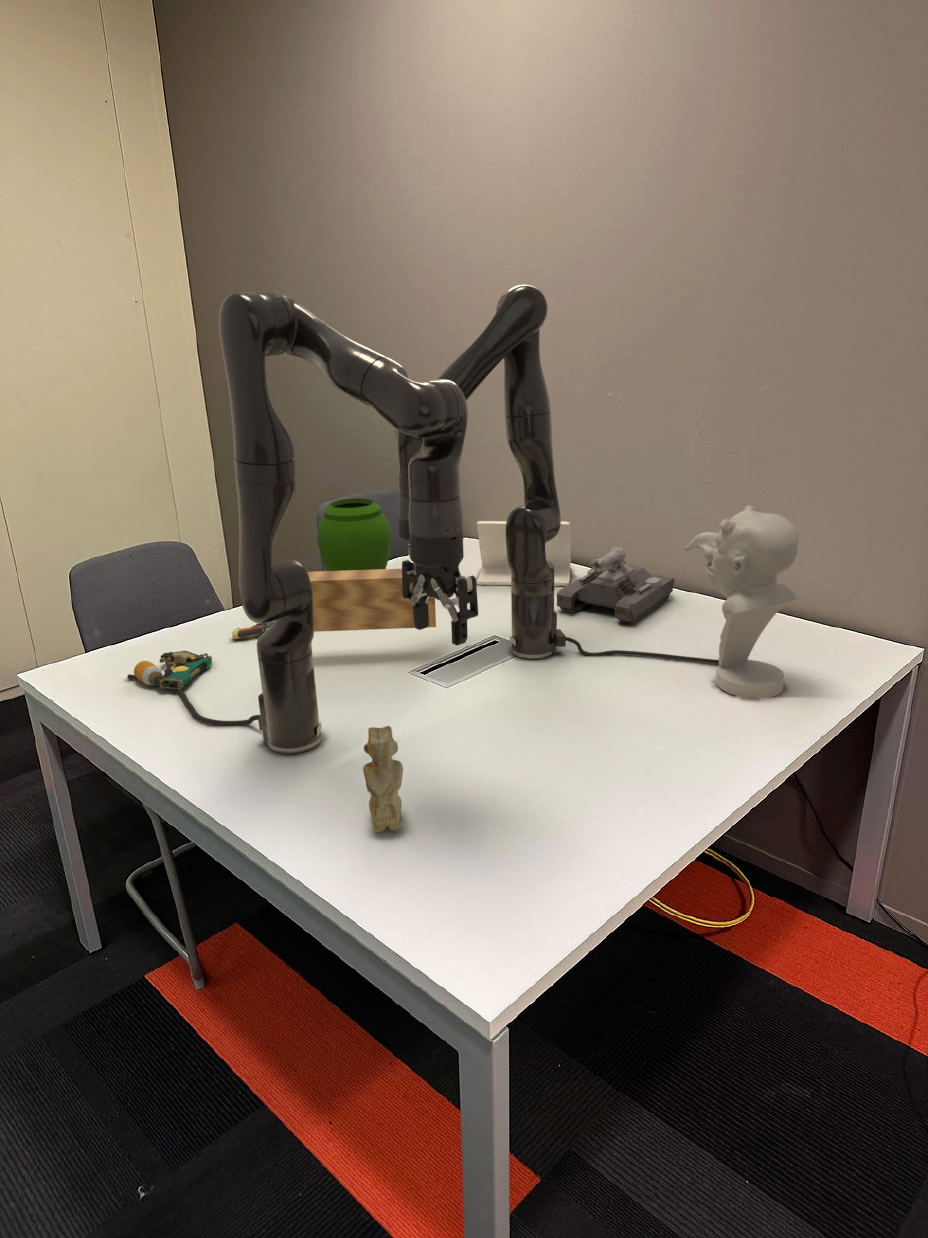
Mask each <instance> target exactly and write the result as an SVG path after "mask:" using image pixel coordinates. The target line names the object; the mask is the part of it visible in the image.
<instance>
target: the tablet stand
mask: <svg viewBox="0 0 928 1238" xmlns="http://www.w3.org/2000/svg"><path fill="white" fill-rule="evenodd" d="M506 522H507V520H505V521H504V520H477V522H476V531H477V537H478V544H479V551H480V557H481V558H480V559H481V570H480V573H479V575H478V577H477V579H476V585H477V584H478V585H484V586H485V585H486V586H487V585H489V586H490V585H491V586H511V570H510V568H509V565H508V562H507V550H506ZM545 551H546V560H548V561H550V562H551V563H552V564H553V565H554V587H556V586H557V587H566V586H567V585H569V584H570V580H571V579H570V578H571V565H572V564H571V560H572V558H571V522H569V521H561V526H560V529H559V532H558V534H557V535H556V536H555V538H553V539H552V540H550V541H549V542H547V543H545Z"/></svg>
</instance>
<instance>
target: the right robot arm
mask: <svg viewBox="0 0 928 1238" xmlns="http://www.w3.org/2000/svg"><path fill="white" fill-rule="evenodd" d="M548 308H549V307H548V301H547V298H546V297H545V295H544V294H543V292H542V291H541V290H540V289H539V288H537V287H535V286H533V285H529V284H519V285H515V286H513V287H511V288H509V289H507V290H506V291H504V292H503V293H502V295H501V296H500V298H498V301H497V303H496V309H495V314H494V315H493V317H492V319H491V320H490V322H489V323H488V324H487V326H486V327H485V329H484V330H483V331H482V332H481V334H480V335H479V336H478V337H477V338H476V339H475V340H474V341H473V342H472V344H470V346H469V347H467V348H466V349H465V350H464V351H463V352H462V353H461V354H460V355H459V356H458V357H457V358H456V359H455V360H454V361H453V362H451V363H450V365H449V366H448V367H447V368H446V369H445V370H444V371H443V372H442V373H441V374H440V375H439V377H438V378H437V379H436V380H440V379H445V380H450V381H452V382H454V383H455V384H457V385H458V386H459V387H460V389H461V390H462V392H463V394H464V396H465V399H466V402H467V401H468V400H469V399H470V397H472V395H473V394H474V393H475V392H476V390H477V389H478V388H479V387H480V386H481V384H482V383H483V382H484V381H485V380H486V379H487V377H488V376H489V375H490V374H491V373H492V371H494V370H495V368H496V367H497V366H498V365H499V364H500V363H501V362H502V361H503V367H504V368H503V369H504V374H503V375H504V376H503V380H504V381H503V391H504V392H503V393H504V395H503V397H504V398H503V399H504V400H503V401H504V420H505V432H506V440H507V443H508V446H509V449H510V451H511V453H512V455H513V458H514V459H515V462H516V463H517V465H518V467H519V470H520V473H521V476H522V482H523V494H524V495H523V496H524V497H523V498H524V499H523V500H524V503H523V504H522V505H519V506H517V507H515V508H514V509H512V510H511V511H510V512H509V514H508V515H507V517H506V521H507V522H506V550H507V562H508V565H509V568H510V570H511V585H510V588H511V589H510V597H511V599H510V603H511V604H510V606H511V607H510V609H511V610H510V615H511V617H510V618H511V621H510V622H511V635H510V636H509V642H510V644H511V647H510V651H511V653H512V655H513V656H515V657H518V658H521V659H525V660H526V659H527V660H540V659H545V658H548V657H550V656H552V655H557V654H558V653H557V650H558V649H557V648H560V647H561V648H562V647H566V646H567V642H569V643H572V644H573V645H575V646H576V648H577V650H578V652H579V653H580V654H581V655H584V656H587V657H602V656H603V657H604V656H609V655H625V656H626V655H627V656H639V657H652V658H659V659H660V658H662V659H671V660H676V661H677V660H678V661H687V662H698V663H706V664H717V665H719V659H713V658H703V657H695V656H686V655H685V656H684V655H677V654H676V655H675V654H667V653H656V652H646V651H636V650H618V649H615V650H614V649H612V650H606V651H605V650H604V651H599V652H588V651H586V650H584V649H583V648H582V644H581V643H580V642H579V641H578V640H576V639H574V638H571V637H568V636H566V635H565V633H564V632H563V631H562V630H561V628H558V613H557V612H556V611H555V586H554V565H553V564H552V563H551V562H550V561H548V560H546V551H545V543H547V542H549V541H550V540H552V539H553V538H555V536H556V535H557V534H558V532H559V529H560V526H561V522H562V517H561V509H560V503H559V497H558V491H557V483H556V478H555V466H554V450H553V429H552V410H551V402H550V396H549V393H548V392H549V391H548V388H547V383H546V379H545V375H544V372H543V368H542V363H541V353H540V350H541V349H540V345H541V344H540V340H541V339H540V335H541V334H540V331H541V330H540V329H541V328H542V326H543V325H544V324H545V321H546V320H547V317H548ZM394 437H395V440H396V443H397V452H398V454H397V455H398V466H399V467H398V470H397V490H398V491H397V492H398V494H397V495H398V496H397V517H398V518H397V519H398V536H399V538H400V539H401V540H404V541H410V535H409V498H410V497H409V481H408V479H409V478H408V465H409V461H410V459H411V458H412V457H413V456H414V455H415V454H417V453H418V452H419V451H420V449H421V447H422V443H423V438H416V437H412V436H409V435H406V434H404V433H402V432H400V431H399V430H397V429H396V428H395V427H394ZM407 545H408V546H407V547H408V549H407V551H408V552H407V554H408V557H409V559H411V554H410V543H408V544H407Z"/></svg>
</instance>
